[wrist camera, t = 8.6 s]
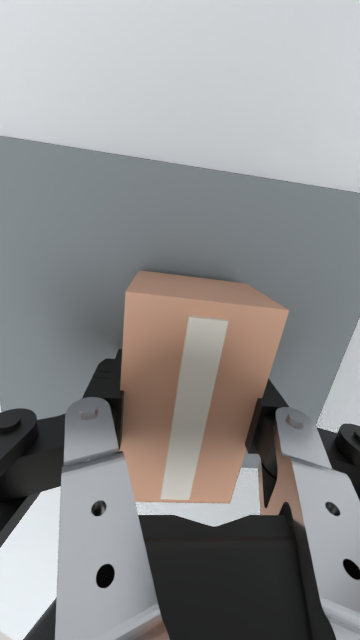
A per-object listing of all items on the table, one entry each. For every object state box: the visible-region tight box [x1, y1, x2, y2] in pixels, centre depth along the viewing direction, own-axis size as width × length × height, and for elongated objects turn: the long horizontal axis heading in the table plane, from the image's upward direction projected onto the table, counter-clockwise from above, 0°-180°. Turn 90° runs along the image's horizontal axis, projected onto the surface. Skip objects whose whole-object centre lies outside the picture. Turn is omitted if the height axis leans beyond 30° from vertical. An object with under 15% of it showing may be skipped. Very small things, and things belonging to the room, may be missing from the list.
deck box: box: [119, 270, 289, 503], centre depth 10 cm, size 5×9×4 cm, turn 172°
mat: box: [0, 136, 360, 468], centre depth 13 cm, size 18×20×1 cm
